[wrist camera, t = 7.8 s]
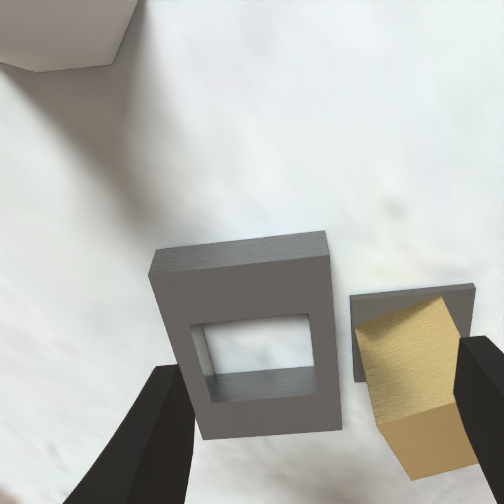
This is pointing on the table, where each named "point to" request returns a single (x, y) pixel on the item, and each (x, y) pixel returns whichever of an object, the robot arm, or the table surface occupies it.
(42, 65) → the flask
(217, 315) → the gray rectangular frame
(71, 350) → the table surface
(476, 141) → the table surface
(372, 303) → the flat gray plate
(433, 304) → the block
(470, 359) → the robot arm
